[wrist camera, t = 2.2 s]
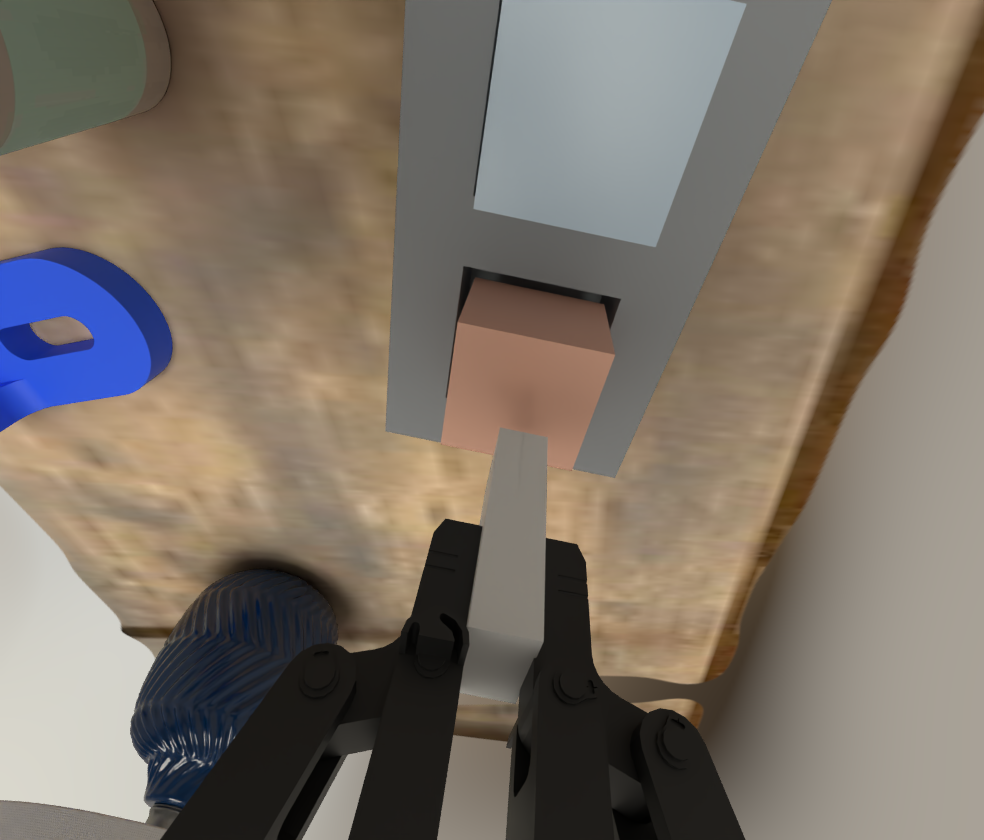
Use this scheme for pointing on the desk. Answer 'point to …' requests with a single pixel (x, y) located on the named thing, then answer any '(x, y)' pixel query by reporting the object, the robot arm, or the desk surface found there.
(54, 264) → the bracket
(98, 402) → the desk surface
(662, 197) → the slate key
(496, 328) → the terracotta key
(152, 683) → the lamp
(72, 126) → the coffee cup
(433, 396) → the grey socket block
